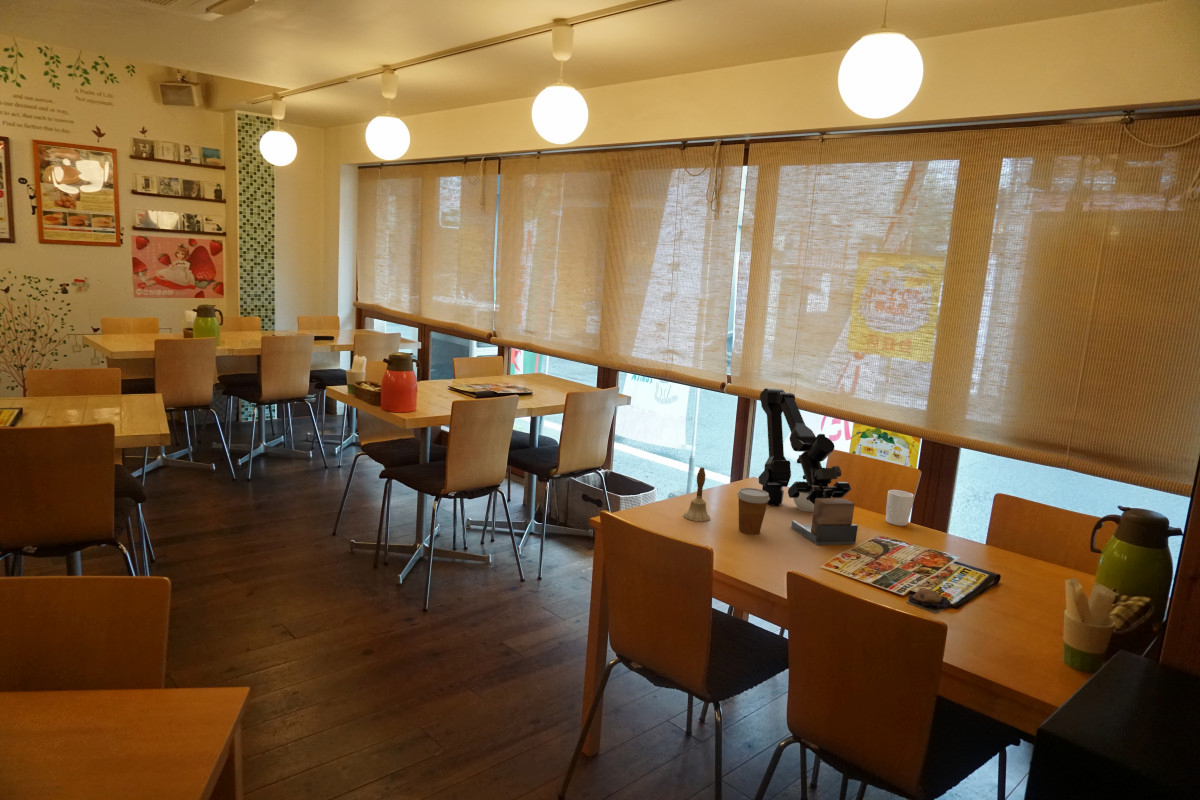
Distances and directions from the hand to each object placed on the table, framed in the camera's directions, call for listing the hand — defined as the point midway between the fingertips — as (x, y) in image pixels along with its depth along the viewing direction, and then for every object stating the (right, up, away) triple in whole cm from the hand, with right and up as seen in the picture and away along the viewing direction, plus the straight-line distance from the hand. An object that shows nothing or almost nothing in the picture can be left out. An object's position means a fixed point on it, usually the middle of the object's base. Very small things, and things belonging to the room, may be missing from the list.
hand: (827, 515), depth 227 cm
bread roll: (+12, -16, -42) cm, 46 cm away
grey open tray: (-1, -6, +2) cm, 7 cm away
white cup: (+29, -6, +23) cm, 37 cm away
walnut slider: (0, -6, -2) cm, 6 cm away
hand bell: (-38, -2, +9) cm, 39 cm away
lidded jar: (+2, -3, +29) cm, 29 cm away
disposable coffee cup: (-23, -5, +1) cm, 24 cm away
